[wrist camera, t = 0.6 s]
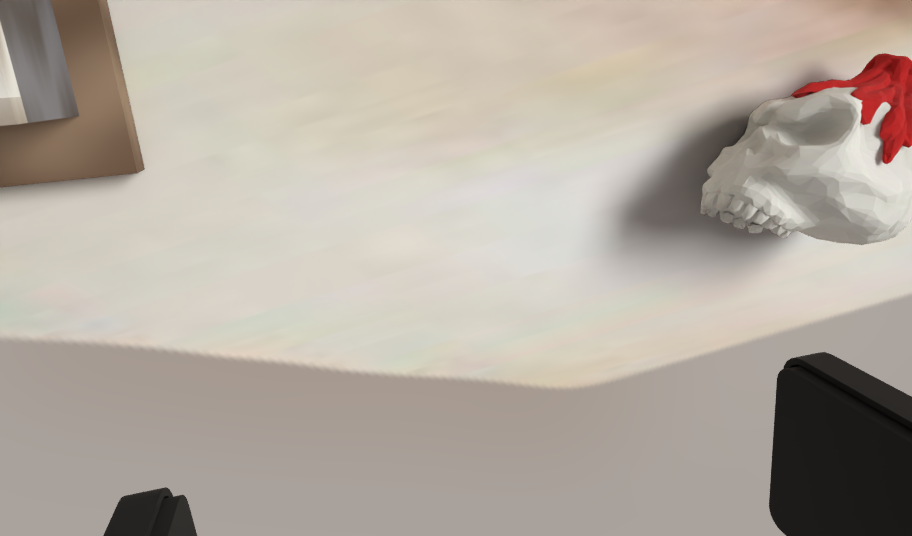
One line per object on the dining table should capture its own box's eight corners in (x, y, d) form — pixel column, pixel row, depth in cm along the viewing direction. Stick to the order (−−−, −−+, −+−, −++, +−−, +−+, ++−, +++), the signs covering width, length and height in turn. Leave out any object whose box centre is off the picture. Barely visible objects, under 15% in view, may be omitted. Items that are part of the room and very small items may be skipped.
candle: (659, 196, 40) (793, 5, 40) (767, 293, 44) (889, 117, 44) (765, 207, 31) (935, -35, 32) (888, 327, 35) (1039, 108, 35)
